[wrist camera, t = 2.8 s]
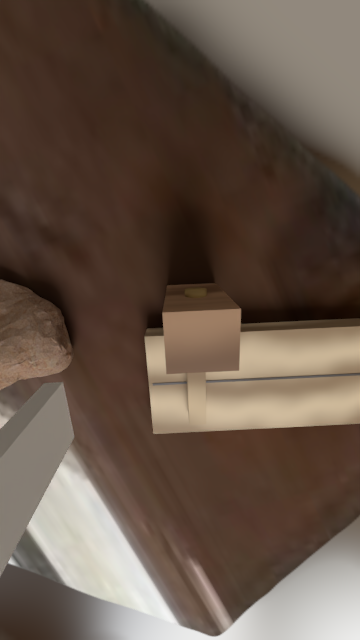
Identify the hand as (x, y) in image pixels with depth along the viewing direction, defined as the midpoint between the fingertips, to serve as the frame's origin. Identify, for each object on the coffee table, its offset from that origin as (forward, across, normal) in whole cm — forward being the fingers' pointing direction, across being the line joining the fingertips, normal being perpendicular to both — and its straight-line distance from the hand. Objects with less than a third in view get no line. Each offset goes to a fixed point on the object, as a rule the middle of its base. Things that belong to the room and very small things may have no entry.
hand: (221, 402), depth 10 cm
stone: (+17, -19, -1) cm, 26 cm away
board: (+17, +7, -8) cm, 20 cm away
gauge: (+17, 0, -4) cm, 17 cm away
